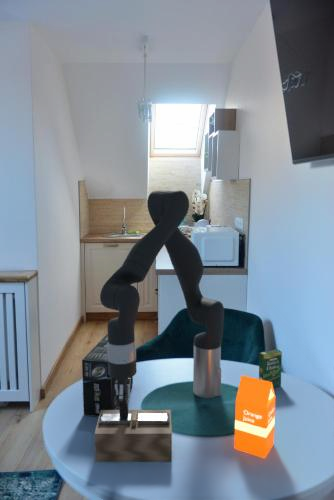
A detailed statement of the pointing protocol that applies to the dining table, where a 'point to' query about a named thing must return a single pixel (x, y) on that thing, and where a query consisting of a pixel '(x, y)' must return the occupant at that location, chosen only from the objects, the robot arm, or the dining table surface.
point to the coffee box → (270, 367)
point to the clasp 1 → (114, 419)
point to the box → (98, 381)
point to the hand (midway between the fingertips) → (124, 417)
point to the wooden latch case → (133, 440)
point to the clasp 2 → (153, 418)
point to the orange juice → (254, 416)
